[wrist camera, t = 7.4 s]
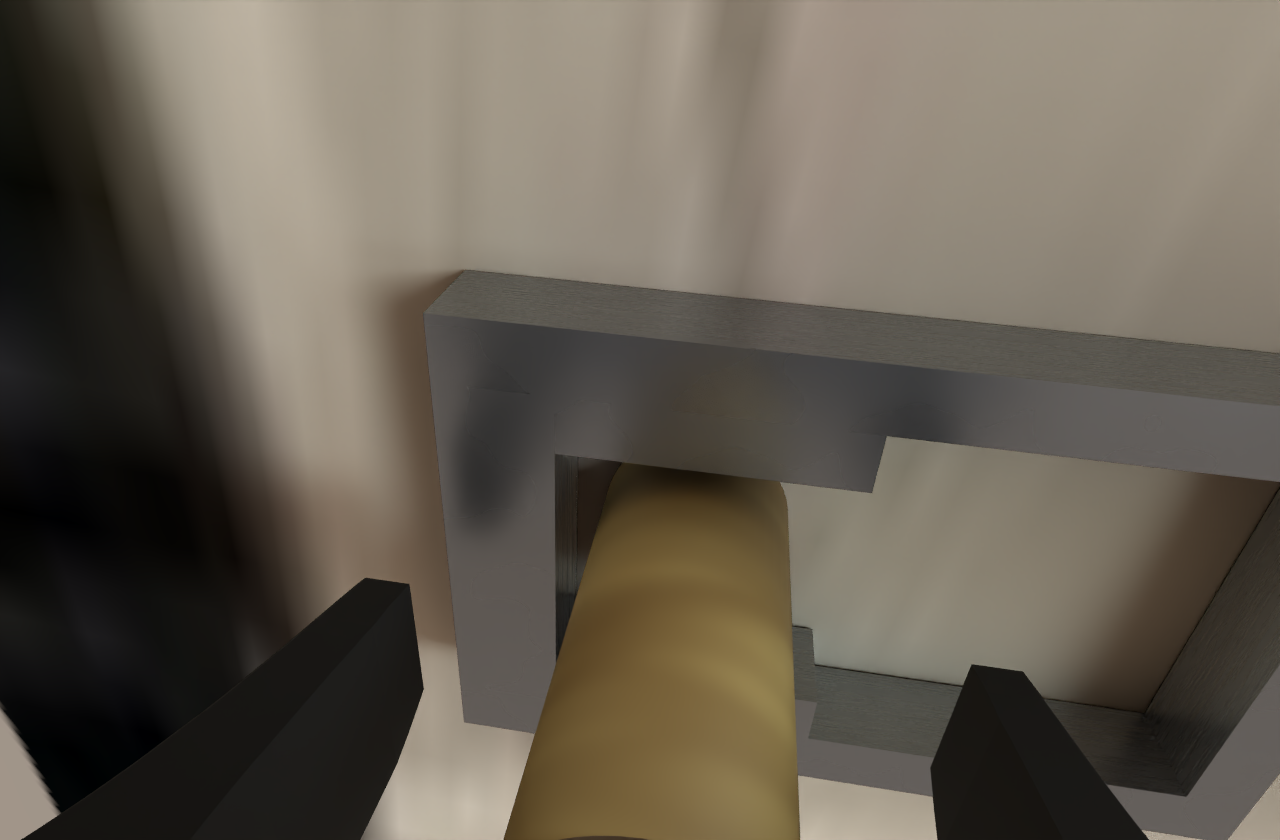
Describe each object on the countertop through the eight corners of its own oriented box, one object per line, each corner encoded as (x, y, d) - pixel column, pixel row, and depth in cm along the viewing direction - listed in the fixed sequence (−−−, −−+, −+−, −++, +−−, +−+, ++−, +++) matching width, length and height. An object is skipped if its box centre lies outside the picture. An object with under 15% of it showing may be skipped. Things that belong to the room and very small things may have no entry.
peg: (806, 452, 12) (857, 1108, 5) (767, 593, 13) (768, 1237, 7) (616, 420, 12) (422, 1009, 5) (599, 562, 14) (433, 1159, 7)
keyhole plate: (1439, 370, 10) (1545, 435, 9) (1180, 757, 14) (1224, 843, 13) (464, 270, 11) (422, 312, 10) (491, 654, 15) (463, 722, 14)
